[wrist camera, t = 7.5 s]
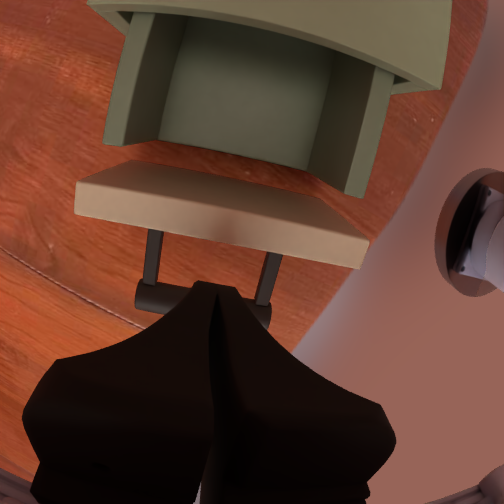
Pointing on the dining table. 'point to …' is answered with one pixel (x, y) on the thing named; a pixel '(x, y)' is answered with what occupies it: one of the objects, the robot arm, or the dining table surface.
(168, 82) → the drawer
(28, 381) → the dining table surface
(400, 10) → the cabinet
